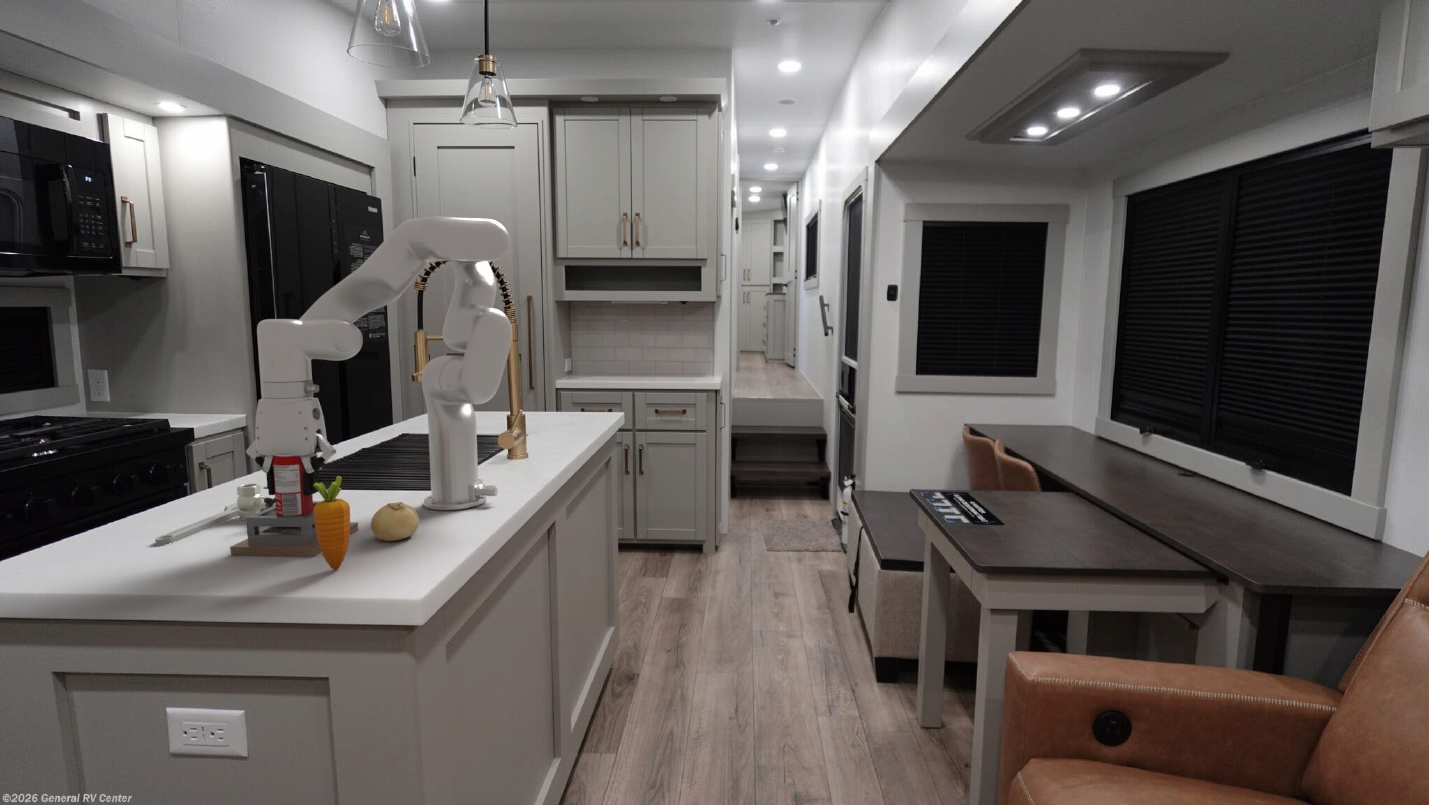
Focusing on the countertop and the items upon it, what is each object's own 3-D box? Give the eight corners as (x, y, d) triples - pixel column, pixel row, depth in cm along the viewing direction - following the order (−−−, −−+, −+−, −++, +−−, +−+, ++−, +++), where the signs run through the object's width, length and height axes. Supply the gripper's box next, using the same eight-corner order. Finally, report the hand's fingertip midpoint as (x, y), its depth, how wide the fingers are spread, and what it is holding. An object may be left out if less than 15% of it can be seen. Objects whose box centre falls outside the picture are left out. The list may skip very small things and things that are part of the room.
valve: (226, 520, 133) (264, 529, 127) (224, 488, 132) (261, 495, 127) (261, 512, 139) (298, 520, 133) (259, 480, 138) (296, 487, 132)
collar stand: (358, 530, 127) (356, 499, 126) (314, 556, 113) (311, 521, 113) (284, 529, 127) (281, 498, 127) (230, 555, 113) (227, 520, 113)
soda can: (309, 511, 123) (305, 446, 122) (317, 517, 119) (312, 450, 118) (273, 517, 120) (269, 450, 118) (280, 524, 116) (275, 454, 114)
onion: (361, 542, 121) (358, 503, 120) (394, 529, 128) (392, 492, 127) (397, 547, 118) (395, 508, 117) (429, 533, 126) (427, 496, 125)
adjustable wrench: (166, 548, 118) (165, 538, 118) (133, 547, 119) (132, 537, 119) (274, 507, 143) (273, 499, 143) (246, 506, 143) (245, 498, 143)
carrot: (315, 578, 104) (309, 482, 102) (319, 567, 109) (313, 475, 107) (352, 573, 106) (346, 479, 104) (354, 562, 111) (349, 473, 109)
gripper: (348, 389, 121) (354, 489, 123) (252, 388, 121) (259, 487, 123) (324, 394, 113) (330, 499, 115) (222, 392, 113) (230, 498, 115)
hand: (294, 492), depth 119 cm, fingers closed on soda can, 5 cm apart
